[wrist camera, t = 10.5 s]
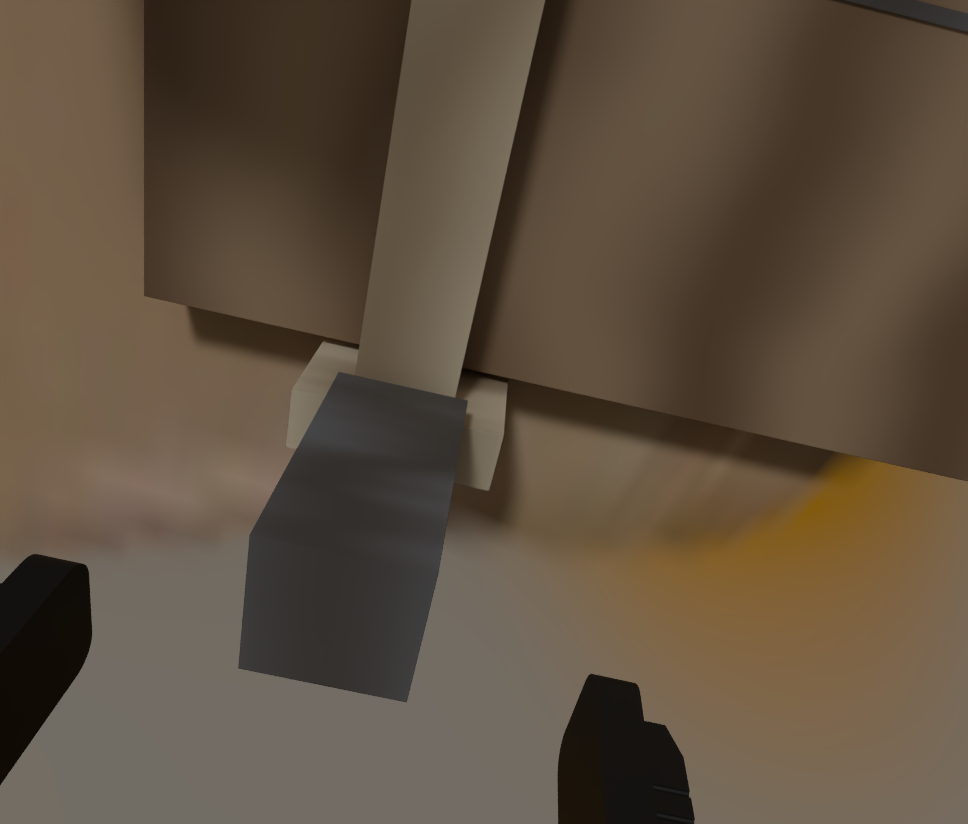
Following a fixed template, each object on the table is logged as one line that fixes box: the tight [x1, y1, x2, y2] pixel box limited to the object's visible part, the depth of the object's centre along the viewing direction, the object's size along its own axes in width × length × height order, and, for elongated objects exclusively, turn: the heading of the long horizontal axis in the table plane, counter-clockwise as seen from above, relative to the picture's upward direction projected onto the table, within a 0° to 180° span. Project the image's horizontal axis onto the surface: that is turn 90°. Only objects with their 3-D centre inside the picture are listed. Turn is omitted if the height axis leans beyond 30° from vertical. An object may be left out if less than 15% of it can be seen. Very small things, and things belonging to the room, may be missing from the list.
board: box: [144, 0, 968, 481], centre depth 17 cm, size 30×14×2 cm, turn 78°
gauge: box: [238, 0, 545, 702], centre depth 14 cm, size 5×13×10 cm, turn 168°
